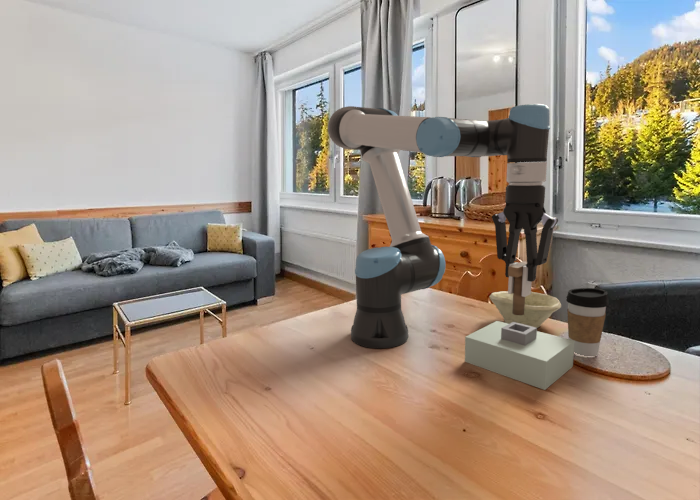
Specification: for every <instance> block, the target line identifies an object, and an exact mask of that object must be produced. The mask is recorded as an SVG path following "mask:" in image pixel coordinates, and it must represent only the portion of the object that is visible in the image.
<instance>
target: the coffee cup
mask: <svg viewBox="0 0 700 500" xmlns="http://www.w3.org/2000/svg"><path fill="white" fill-rule="evenodd" d="M565 299H566V302H567V303H568V304H567V306H568V307H567V313H566V314H567V329H568V330H567V333H568V335H567V336H568V339H570V340H574V352H575V353H577V354H580V355H584V356H596V355H597V354H598V355H599V351H600V349H599V348H600V345H601V340H602V336H603V335H602V334H603V329H604V325H605V320H606V315H607V314H606V308H607V307H608V306H609V303H610V301H609V294H608V291H607V290H604V289H601V288H597V287H596V288H595V287H581V288H580V287H579V288H571V289H569V290H568V291H567V296H566V298H565ZM598 355H597V356H598Z"/></svg>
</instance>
